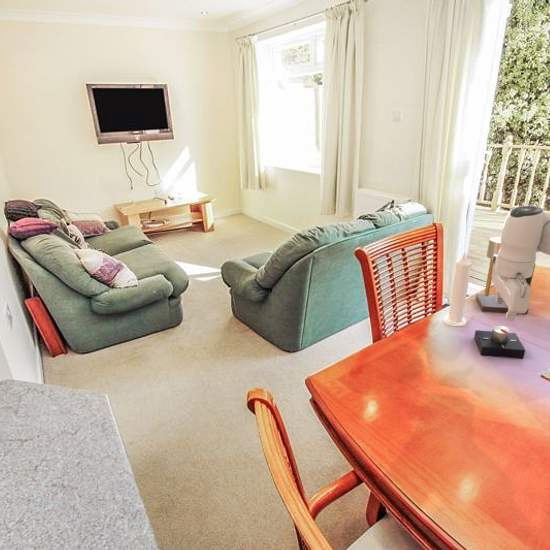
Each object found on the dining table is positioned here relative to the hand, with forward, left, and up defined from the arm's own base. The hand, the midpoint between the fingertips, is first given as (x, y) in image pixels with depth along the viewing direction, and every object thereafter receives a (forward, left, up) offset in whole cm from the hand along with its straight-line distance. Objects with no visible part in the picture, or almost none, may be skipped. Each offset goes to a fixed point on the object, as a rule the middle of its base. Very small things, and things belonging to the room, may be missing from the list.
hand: (504, 311), depth 107 cm
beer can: (-19, -42, -13) cm, 48 cm away
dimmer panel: (0, 0, -13) cm, 13 cm away
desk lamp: (-4, -27, -8) cm, 28 cm away
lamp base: (-8, -27, -13) cm, 31 cm away
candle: (+9, -14, -13) cm, 21 cm away
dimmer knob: (0, 0, -10) cm, 9 cm away
